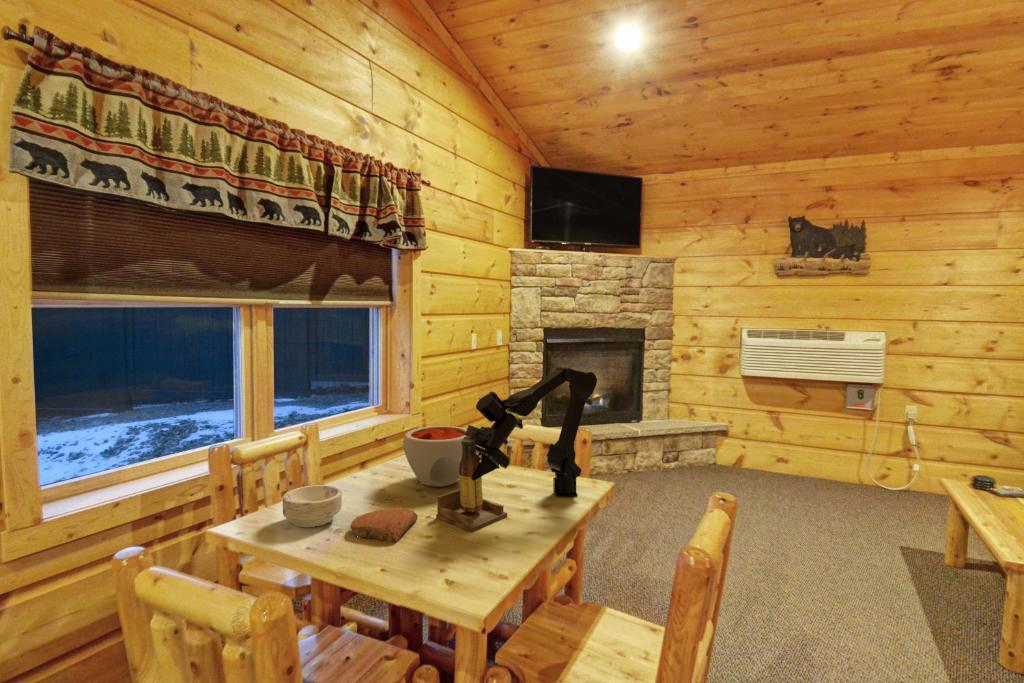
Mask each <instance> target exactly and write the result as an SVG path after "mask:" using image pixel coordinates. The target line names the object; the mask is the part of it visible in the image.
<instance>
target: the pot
mask: <svg viewBox="0 0 1024 683" xmlns="http://www.w3.org/2000/svg"><path fill="white" fill-rule="evenodd" d="M466 431H467V428H464V427H460V426H452V425H431V426H425V427H424V426H423V427H419V428H415V429H412V430H409V431H408V432H406V433H405V435H404V437H403V440H402V448H403V452H404V455H405V457H406V460H407V463H408V464H409V467H410V469H411V470H412V472H413V473H414V475H415V477H416V479H418V482H419V483H421V485H422V484H423V485H425V486H428V487H432V488H434V487H435V488H441V487H447V486H450V485H452V484H455V483H456V482H458V481H459V465H460V462H461V459H462V445H461V441H462V440H463V438H464V437H467V436H465V433H466Z"/></svg>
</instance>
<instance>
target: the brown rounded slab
mask: <svg viewBox="0 0 1024 683" xmlns="http://www.w3.org/2000/svg"><path fill="white" fill-rule="evenodd" d="M417 520H418V514H417V513H416V511H414V510H411V509H407V508H404V507H403V508H402V507H400V508H399V507H396V508H382V509H378V510H374V511H370V512H367V513H363V514H361V515H359V516H356V517H355V518H354V519H353V520H352V521H351V524H350V526H349V527H350V529H351V530H352V531H353V532H354V535H355V537H356V536H358V537H366V539H370V538H375V539H377V540H379V541H385V540H387V541H386V542H388V541H389V542H388V543H391V542H396V543H398V541H399V539H400V538H401V537H402V535H403V534H404V533H405V532H406V531H407V530H408V529H409V527H410V526H411V525H413V524H414V523H416V522H417Z"/></svg>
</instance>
